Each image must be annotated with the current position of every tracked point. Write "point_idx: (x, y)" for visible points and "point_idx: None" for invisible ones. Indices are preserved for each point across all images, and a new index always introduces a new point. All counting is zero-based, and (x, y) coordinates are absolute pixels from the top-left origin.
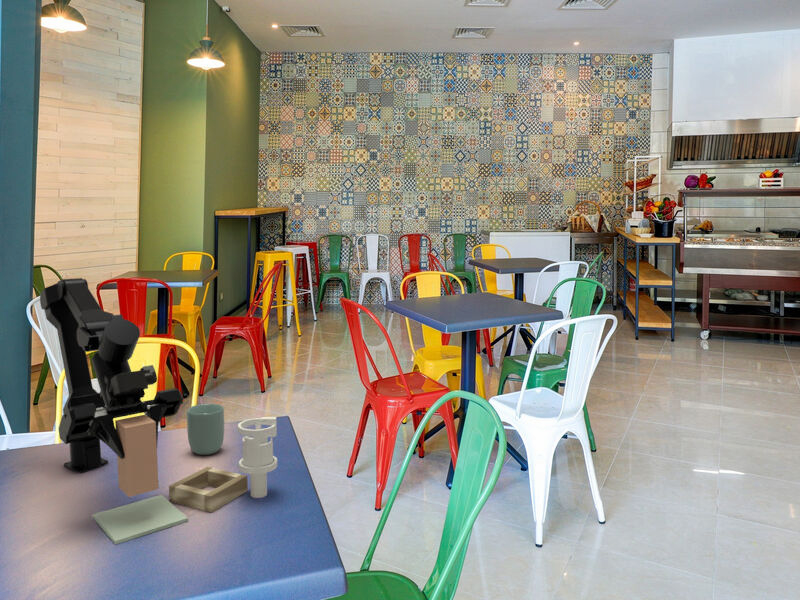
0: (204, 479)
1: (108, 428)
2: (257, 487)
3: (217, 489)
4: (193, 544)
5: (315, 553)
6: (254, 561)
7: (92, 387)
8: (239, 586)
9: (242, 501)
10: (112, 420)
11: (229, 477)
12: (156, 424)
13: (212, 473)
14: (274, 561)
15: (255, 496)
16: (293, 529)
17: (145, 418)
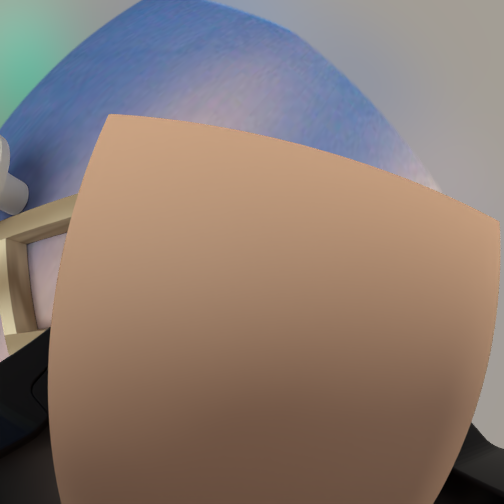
0: (35, 330)
1: (473, 444)
2: (14, 178)
3: (61, 211)
4: (223, 118)
5: (143, 10)
6: (201, 32)
7: None
8: (256, 16)
9: (47, 196)
10: (491, 482)
11: (8, 259)
12: (36, 354)
13: (15, 316)
14: (186, 20)
15: (26, 188)
16: (98, 58)
17: (110, 411)
